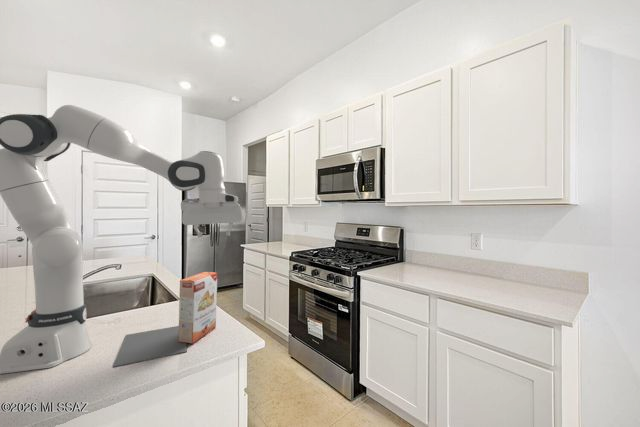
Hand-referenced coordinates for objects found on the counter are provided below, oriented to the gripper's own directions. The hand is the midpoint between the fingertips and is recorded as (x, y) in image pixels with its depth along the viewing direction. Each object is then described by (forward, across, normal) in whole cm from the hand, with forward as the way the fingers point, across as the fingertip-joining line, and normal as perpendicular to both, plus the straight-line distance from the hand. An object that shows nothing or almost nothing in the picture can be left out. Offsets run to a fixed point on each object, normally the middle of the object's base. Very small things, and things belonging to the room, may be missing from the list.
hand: (214, 236), depth 103 cm
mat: (+34, -20, -4) cm, 40 cm away
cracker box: (+34, -7, -2) cm, 35 cm away
